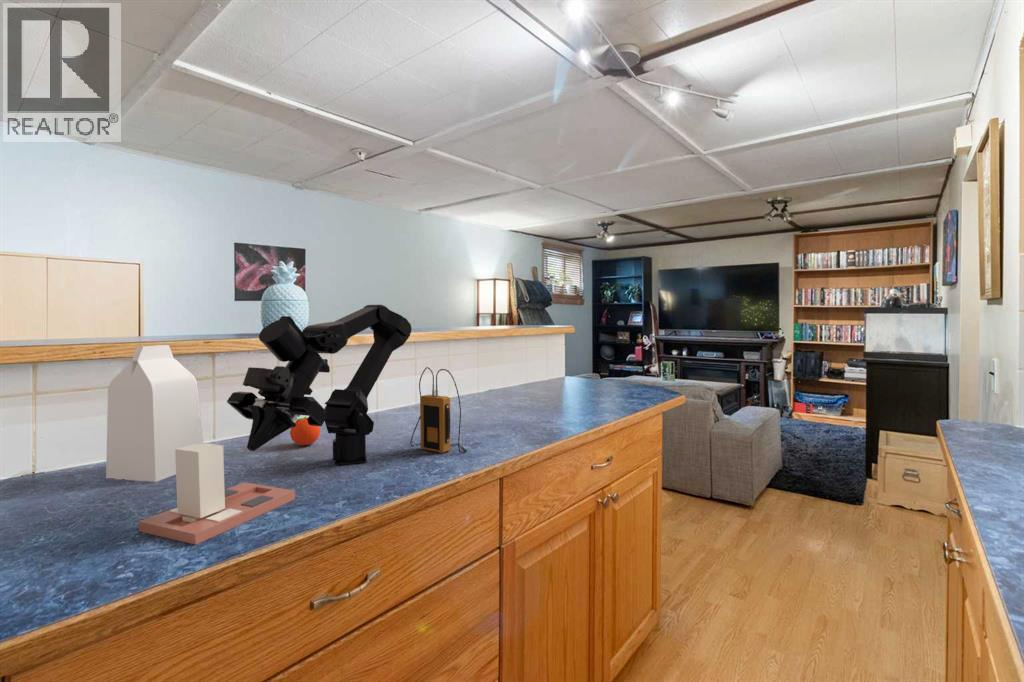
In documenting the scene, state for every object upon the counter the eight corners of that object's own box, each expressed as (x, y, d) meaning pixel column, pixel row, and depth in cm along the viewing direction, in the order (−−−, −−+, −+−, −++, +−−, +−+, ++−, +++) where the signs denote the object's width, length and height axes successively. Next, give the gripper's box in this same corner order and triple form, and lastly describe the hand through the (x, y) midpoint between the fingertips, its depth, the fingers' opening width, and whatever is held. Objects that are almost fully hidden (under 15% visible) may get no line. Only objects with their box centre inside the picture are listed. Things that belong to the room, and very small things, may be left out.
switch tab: (202, 510, 77) (200, 442, 76) (225, 514, 75) (223, 445, 75) (177, 519, 73) (175, 448, 73) (200, 524, 71) (198, 452, 71)
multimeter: (481, 446, 118) (480, 366, 117) (455, 456, 110) (454, 369, 108) (436, 438, 126) (435, 362, 125) (408, 447, 117) (407, 366, 116)
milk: (155, 481, 93) (150, 348, 91) (106, 478, 95) (100, 347, 93) (205, 463, 105) (201, 344, 103) (160, 460, 107) (156, 343, 105)
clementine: (286, 451, 114) (286, 421, 114) (284, 444, 120) (283, 416, 120) (322, 446, 118) (321, 418, 118) (318, 440, 124) (317, 413, 124)
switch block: (244, 490, 88) (244, 481, 88) (295, 499, 84) (295, 489, 84) (139, 531, 71) (138, 520, 71) (195, 544, 67) (195, 533, 67)
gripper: (233, 348, 89) (177, 420, 80) (312, 351, 83) (261, 429, 73) (270, 384, 97) (222, 453, 87) (345, 389, 91) (302, 464, 81)
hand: (250, 449), depth 82 cm, fingers closed
